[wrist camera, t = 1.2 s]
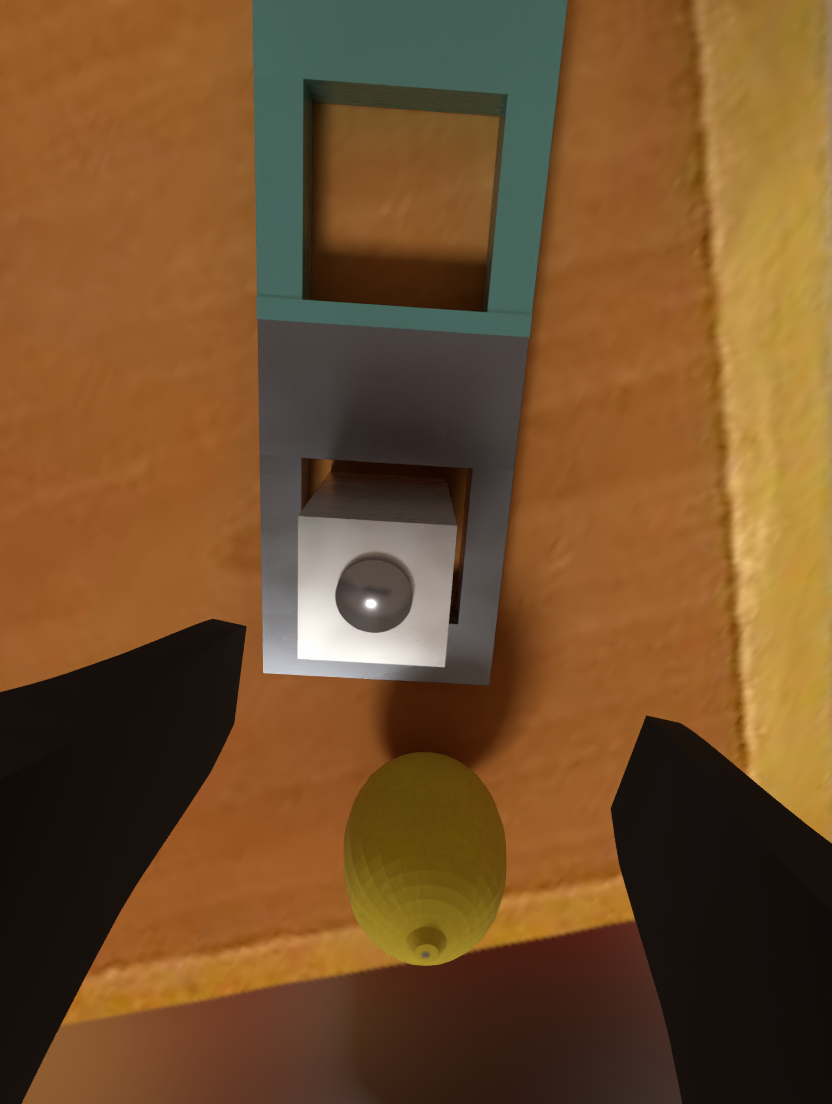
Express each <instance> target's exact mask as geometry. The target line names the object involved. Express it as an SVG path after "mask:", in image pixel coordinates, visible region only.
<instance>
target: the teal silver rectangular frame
mask: <svg viewBox="0 0 832 1104" xmlns="http://www.w3.org/2000/svg"><path fill="white" fill-rule="evenodd" d="M252 1H253V63H254V125H255V186H256V248H257V297H256V300H257V319H258V372H259V433H260V495H261V557H262V619H263V673H275V674H293V675H311V676H329V677H346V678H364V679H382V680H400V681H418V682H436V683H454V684H472V685H489V683H490V674H491V666H492V657H493V648H494V639H495V631H496V622H497V613H498V605H499V596H500V587H501V578H502V570H503V561H504V552H505V543H506V535H507V526H508V517H509V508H510V500H511V491H512V482H513V474H514V465H515V456H516V447H517V439H518V430H519V421H520V412H521V404H522V395H523V386H524V377H525V369H526V360H527V351H528V343H529V337H530V330H531V322H532V308H533V299H534V290H535V281H536V273H537V264H538V255H539V247H540V238H541V229H542V220H543V212H544V203H545V194H546V185H547V177H548V168H549V159H550V150H551V142H552V133H553V124H554V116H555V107H556V98H557V89H558V81H559V72H560V63H561V54H562V46H563V37H564V28H565V20H566V11H567V2H568V0H252ZM313 102H317V103H330V104H343V105H357V106H370V107H383V108H397V109H410V110H423V111H437V112H450V113H463V114H477V115H490V116H500V120H499V131H498V142H497V153H496V164H495V175H494V186H493V197H492V208H491V219H490V230H489V241H488V252H487V263H486V274H485V285H484V296H483V307H482V312H475V311H460V310H446V309H431V308H416V307H402V306H387V305H373V304H358V303H343V302H329V301H314V300H311V264H312V157H313ZM310 458H314V459H330V460H346V461H362V462H377V463H393V464H409V465H425V466H441V467H457V468H468V472H467V483H466V494H465V505H464V516H463V528H462V539H461V550H460V561H459V572H458V583H457V594H456V605H455V606H450V614H449V626H448V637H447V648H446V660H445V667H433V666H415V665H398V664H381V663H363V662H346V661H329V660H311V659H298V515H299V514H300V513H301V511H302V510H303V508H304V507H305V506H306V504H307V503H308V501H309V479H310Z"/></svg>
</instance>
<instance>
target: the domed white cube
mask: <svg viewBox="0 0 832 1104" xmlns="http://www.w3.org/2000/svg"><path fill="white" fill-rule="evenodd" d="M456 534H457V523H456V518H455V514H454V509H453V505H452V501H451V496H450V492H449V488H448V483H447V479H445V478H429V477H413V476H397V475H381V474H365V473H349V472H333V471H330V472H329V474H328V475H327V477H326V478H325V479H324V481H323V482H322V483H321V485H320V486H319V488H318V489H317V490H316V492H315V493H314V495H313V496H312V497H311V499H310V500H309V501H308V503H307V504H306V506H305V507H304V508H303V510H302V511H301V513H300V514H299V515H298V659H311V660H329V661H346V662H363V663H381V664H398V665H415V666H433V667H445V660H446V648H447V637H448V626H449V614H450V603H451V591H452V580H453V569H454V557H455V546H456Z"/></svg>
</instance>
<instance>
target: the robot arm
mask: <svg viewBox="0 0 832 1104" xmlns="http://www.w3.org/2000/svg"><path fill="white" fill-rule="evenodd" d="M245 634H246V626H243V625H239V624H234V623H230V622H225V621H221V620H216V619H211V620H207V621H204V622H201V623H199V624H196V625H193V626H191V627H188V628H186V629H183V630H181V631H178V632H176V633H173V634H171V635H168V636H166V637H164V638H161V639H159V640H156V641H154V642H151V643H149V644H146V645H144V646H141V647H139V648H136V649H134V650H131V651H129V652H126V653H123V654H121V655H118V656H115V657H112V658H109V659H107V660H104V661H101V662H98V663H95V664H92V665H89V666H87V667H84V668H81V669H78V670H75V671H72V672H70V673H67V674H64V675H60V676H57V677H54V678H51V679H47V680H44V681H41V682H37V683H34V684H30V685H26V686H22V687H19V688H15V689H11V690H7V691H3V692H0V1104H21V1103H22V1101H23V1099H24V1097H25V1095H26V1093H27V1091H28V1089H29V1087H30V1085H31V1083H32V1081H33V1079H34V1077H35V1075H36V1073H37V1071H38V1069H39V1067H40V1065H41V1063H42V1061H43V1059H44V1057H45V1055H46V1053H47V1051H48V1049H49V1047H50V1045H51V1043H52V1041H53V1039H54V1037H55V1035H56V1033H57V1031H58V1029H59V1027H60V1025H61V1023H62V1021H63V1019H64V1018H65V1016H66V1014H67V1012H68V1010H69V1008H70V1006H71V1004H72V1002H73V1000H74V998H75V996H76V994H77V992H78V990H79V988H80V986H81V984H82V982H83V981H84V979H85V977H86V975H87V973H88V971H89V969H90V967H91V965H92V963H93V962H94V960H95V958H96V956H97V954H98V952H99V950H100V948H101V947H102V945H103V943H104V941H105V939H106V937H107V935H108V934H109V932H110V930H111V928H112V926H113V924H114V922H115V920H116V919H117V917H118V915H119V913H120V911H121V909H122V908H123V906H124V904H125V903H126V901H127V899H128V898H129V896H130V895H131V893H132V891H133V890H134V888H135V886H136V885H137V883H138V881H139V880H140V878H141V877H142V875H143V874H144V872H145V871H146V869H147V868H148V866H149V865H150V863H151V862H152V860H153V859H154V857H155V856H156V854H157V853H158V851H159V850H160V848H161V847H162V845H163V844H164V842H165V841H166V839H167V838H168V836H169V835H170V833H171V832H172V830H173V829H174V827H175V826H176V824H177V823H178V821H179V820H180V818H181V817H182V815H183V814H184V812H185V811H186V809H187V808H188V806H189V805H190V803H191V802H192V800H193V798H194V797H195V795H196V794H197V792H198V791H199V789H200V788H201V786H202V785H203V783H204V782H205V780H206V778H207V777H208V775H209V774H210V772H211V770H212V768H213V766H214V764H215V762H216V760H217V758H218V756H219V754H220V752H221V750H222V748H223V746H224V744H225V742H226V740H227V738H228V736H229V734H230V731H231V729H232V727H233V725H234V721H235V713H236V705H237V697H238V689H239V682H240V674H241V666H242V658H243V650H244V642H245ZM611 814H612V821H613V828H614V836H615V842H616V848H617V854H618V860H619V865H620V869H621V872H622V876H623V879H624V883H625V886H626V890H627V893H628V897H629V900H630V903H631V907H632V910H633V914H634V917H635V920H636V924H637V927H638V930H639V934H640V937H641V940H642V943H643V946H644V950H645V953H646V957H647V960H648V963H649V967H650V970H651V973H652V977H653V980H654V983H655V987H656V990H657V993H658V996H659V1000H660V1003H661V1007H662V1011H663V1015H664V1018H665V1023H666V1026H667V1030H668V1034H669V1039H670V1044H671V1049H672V1054H673V1059H674V1064H675V1069H676V1074H677V1079H678V1083H679V1088H680V1093H681V1099H682V1104H832V843H830V842H829V841H828V840H826V839H825V838H824V837H822V836H821V835H820V834H818V833H817V832H816V831H815V830H813V829H812V828H811V827H809V826H808V825H807V824H806V823H804V822H803V821H802V820H801V819H799V818H798V817H797V816H796V815H794V814H793V813H792V812H791V811H789V810H788V809H787V808H786V807H784V806H783V805H782V804H781V803H780V802H778V801H777V800H776V799H775V798H773V797H772V796H771V795H770V794H769V793H767V792H766V791H765V790H764V789H763V788H761V787H760V786H759V785H758V784H757V783H755V782H754V781H753V780H752V779H751V778H749V777H748V776H747V775H746V774H745V773H744V772H742V771H741V770H740V769H739V768H738V767H736V766H735V765H734V764H733V763H732V762H730V761H729V760H728V759H727V758H726V757H724V756H723V755H722V754H721V753H720V752H718V751H717V750H716V749H715V748H714V747H712V746H711V745H710V744H709V743H707V742H706V741H705V740H704V739H702V738H701V737H700V736H698V735H697V734H696V733H694V732H693V731H692V730H690V729H689V728H687V727H686V726H684V725H683V724H681V723H678V722H673V721H669V720H664V719H660V718H655V717H651V716H646V718H645V720H644V723H643V726H642V728H641V731H640V733H639V736H638V739H637V741H636V744H635V746H634V749H633V752H632V754H631V757H630V760H629V762H628V765H627V767H626V770H625V773H624V775H623V778H622V780H621V783H620V786H619V788H618V791H617V794H616V796H615V799H614V801H613V804H612V807H611Z"/></svg>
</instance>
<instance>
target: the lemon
mask: <svg viewBox="0 0 832 1104" xmlns="http://www.w3.org/2000/svg"><path fill="white" fill-rule="evenodd" d="M344 878H345V884H346V889H347V893H348V897H349V900H350V904H351V907H352V910H353V913H354V915H355V918H356V920H357V922H358V923H359V925H360V926H361V928H362V929H363V931H364V932H365V934H366V935H367V937H368V938H369V939H370V940H371V941H372V942H373V943H374V944H375V945H377V946H378V947H379V948H380V949H381V950H382V951H383V952H385V953H387V954H388V955H390V956H392V957H394V958H396V959H398V960H400V961H403V962H406V963H410V964H413V965H426V966H427V965H437V964H442V963H445V962H449V961H452V960H454V959H455V958H457V957H459V956H461V955H463V954H465V953H466V952H468V951H469V950H470V949H471V948H473V947H474V946H475V945H476V944H477V943H478V942H479V941H480V940H481V939H482V938H483V937H484V936H485V934H486V933H487V931H488V930H489V928H490V926H491V925H492V923H493V921H494V920H495V918H496V915H497V912H498V910H499V906H500V903H501V899H502V896H503V891H504V886H505V879H506V841H505V833H504V828H503V824H502V821H501V818H500V815H499V813H498V810H497V807H496V804H495V802H494V800H493V797H492V795H491V794H490V792H489V791H488V789H487V788H486V786H485V785H484V784H483V782H482V781H481V780H480V778H479V777H478V776H477V775H476V774H475V773H474V772H473V771H472V770H470V769H469V768H468V767H466V766H465V765H464V764H463V763H461V762H460V761H458V760H455V759H453V758H451V757H449V756H447V755H443V754H438V753H433V752H415V753H410V754H406V755H401V756H399V757H397V758H395V759H393V760H391V761H389V762H387V763H386V764H384V765H383V766H382V767H381V768H379V769H378V770H377V771H376V772H374V773H373V774H372V775H371V776H370V778H369V779H368V780H367V782H366V783H365V784H364V786H363V787H362V789H361V790H360V791H359V793H358V795H357V797H356V799H355V801H354V804H353V807H352V810H351V813H350V816H349V818H348V822H347V825H346V830H345V836H344Z"/></svg>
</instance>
